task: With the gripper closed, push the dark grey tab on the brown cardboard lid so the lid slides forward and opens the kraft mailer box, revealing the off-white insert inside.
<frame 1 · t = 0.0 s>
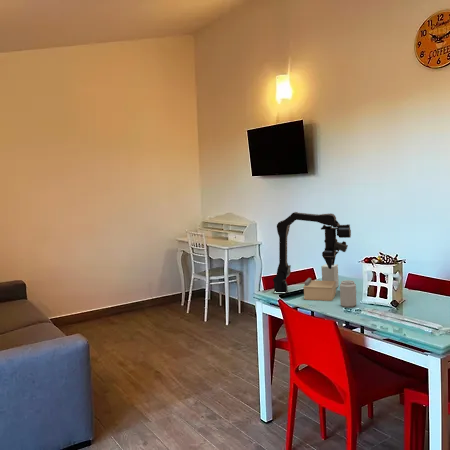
hand: (331, 267, 252), 15 cm above the table, fingers open, 9 cm apart
lid: (319, 282, 249), point 7 cm above the table, slide at 0.0 cm
supplement box: (330, 287, 268), on the table
can: (348, 306, 231), on the table
mailer box: (320, 296, 250), on the table
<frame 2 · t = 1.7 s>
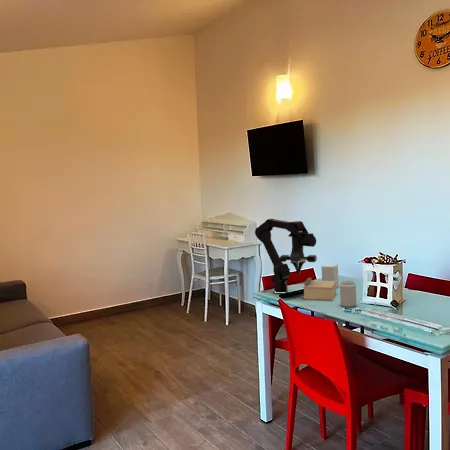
hand: (298, 274, 252), 12 cm above the table, fingers closed
nothing on the table moved.
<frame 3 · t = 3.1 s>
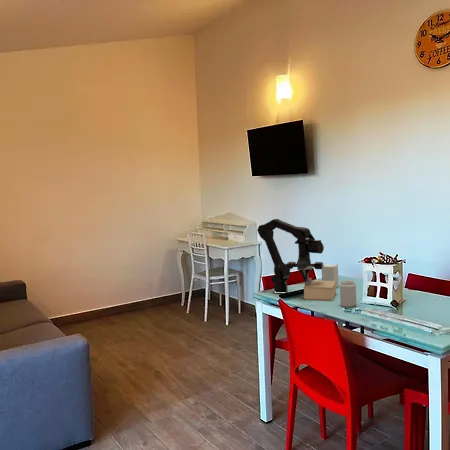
hand: (305, 281, 251), 8 cm above the table, fingers closed
lid: (320, 282, 249), point 7 cm above the table, slide at 0.2 cm, touching gripper
everything else where it was.
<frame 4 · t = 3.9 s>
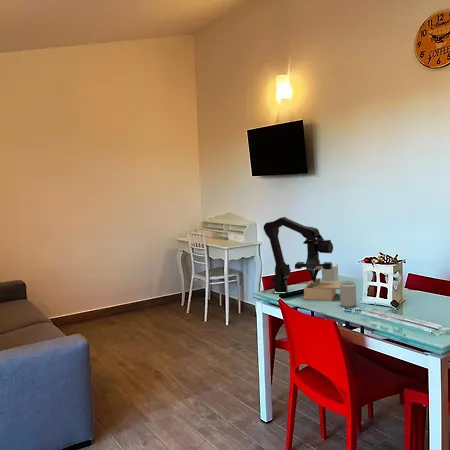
hand: (314, 281, 250), 8 cm above the table, fingers closed
lid: (329, 283, 247), point 7 cm above the table, slide at 4.8 cm, touching gripper
everything else where it was.
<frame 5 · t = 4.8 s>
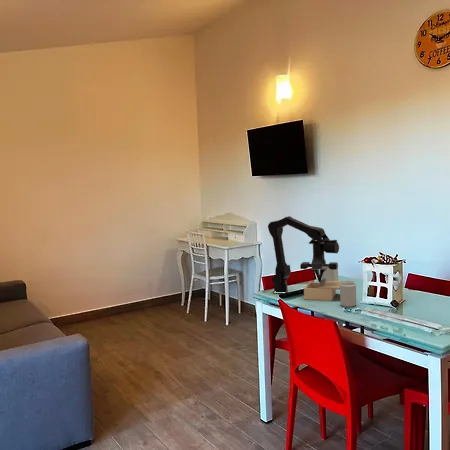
hand: (319, 281, 249), 8 cm above the table, fingers closed
lid: (334, 283, 246), point 7 cm above the table, slide at 7.7 cm, touching gripper
everything else where it was.
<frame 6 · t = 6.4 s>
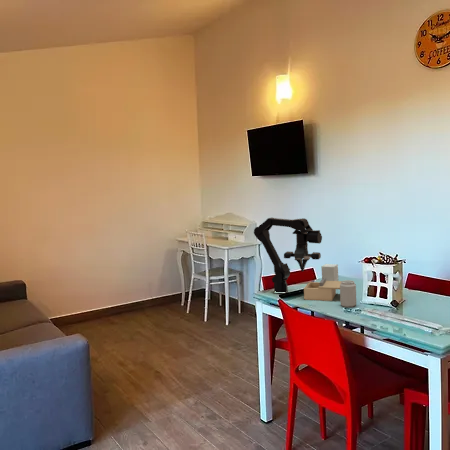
hand: (302, 271, 254), 13 cm above the table, fingers closed
lid: (334, 283, 246), point 7 cm above the table, slide at 7.7 cm
everything else where it was.
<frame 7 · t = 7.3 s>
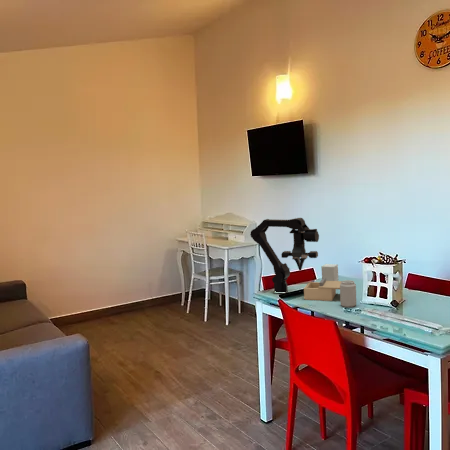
hand: (300, 270, 256), 13 cm above the table, fingers closed
nothing on the table moved.
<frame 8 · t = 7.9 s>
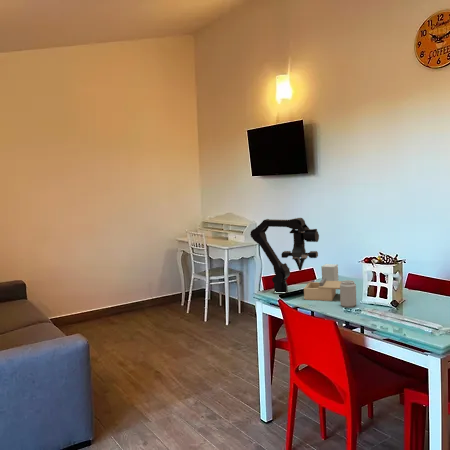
hand: (300, 270, 256), 13 cm above the table, fingers closed
nothing on the table moved.
at the end: lid slide at 7.7 cm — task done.
